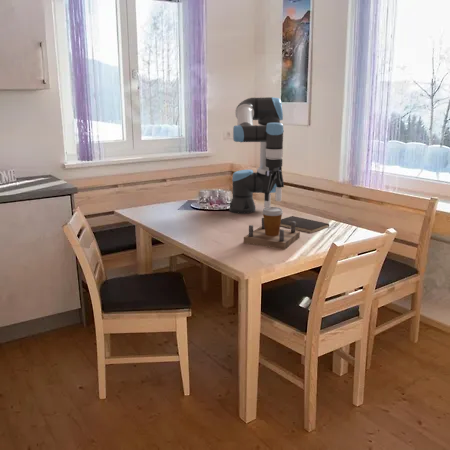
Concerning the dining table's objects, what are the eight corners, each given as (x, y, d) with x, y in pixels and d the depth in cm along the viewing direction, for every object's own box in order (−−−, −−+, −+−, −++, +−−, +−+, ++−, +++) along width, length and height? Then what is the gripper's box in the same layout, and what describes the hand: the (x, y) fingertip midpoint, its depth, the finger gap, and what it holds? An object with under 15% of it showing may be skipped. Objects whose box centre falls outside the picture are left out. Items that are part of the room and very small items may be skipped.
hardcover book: (311, 234, 243) (311, 229, 243) (274, 225, 259) (274, 221, 258) (329, 227, 254) (329, 223, 254) (293, 219, 270) (293, 215, 269)
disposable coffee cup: (281, 237, 226) (282, 212, 222) (260, 236, 228) (260, 211, 224) (283, 231, 235) (283, 207, 231) (263, 230, 237) (263, 206, 233)
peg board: (260, 232, 245) (261, 216, 243) (299, 237, 236) (300, 221, 234) (243, 243, 228) (243, 226, 226) (284, 249, 219) (285, 232, 217)
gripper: (276, 153, 234) (275, 197, 240) (255, 161, 212) (254, 209, 218) (291, 154, 230) (290, 199, 236) (271, 162, 209) (270, 211, 215)
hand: (272, 204), depth 227 cm, fingers open, 13 cm apart
